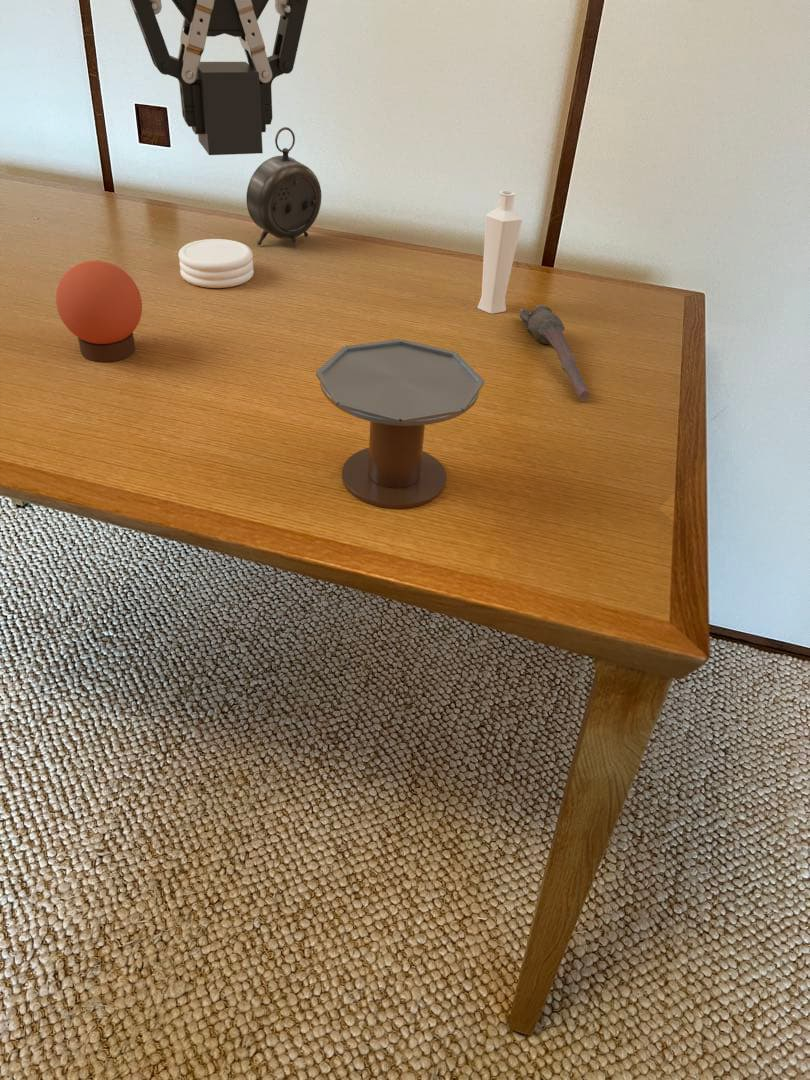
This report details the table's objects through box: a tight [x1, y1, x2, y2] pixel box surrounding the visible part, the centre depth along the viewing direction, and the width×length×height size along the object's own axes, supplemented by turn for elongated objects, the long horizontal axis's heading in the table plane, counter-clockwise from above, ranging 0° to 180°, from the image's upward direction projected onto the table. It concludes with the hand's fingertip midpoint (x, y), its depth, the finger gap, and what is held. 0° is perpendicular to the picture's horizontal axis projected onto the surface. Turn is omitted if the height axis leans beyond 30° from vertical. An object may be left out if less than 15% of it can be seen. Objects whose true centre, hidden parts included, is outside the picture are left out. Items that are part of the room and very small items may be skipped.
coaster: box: [178, 238, 255, 289], centre depth 112 cm, size 10×10×4 cm
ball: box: [55, 260, 143, 363], centre depth 91 cm, size 9×9×10 cm
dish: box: [315, 338, 485, 510], centre depth 74 cm, size 14×14×11 cm
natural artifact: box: [519, 304, 591, 403], centre depth 99 cm, size 4×23×4 cm, turn 5°
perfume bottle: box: [476, 189, 523, 315], centre depth 106 cm, size 5×4×15 cm
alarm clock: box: [245, 126, 322, 248], centre depth 119 cm, size 11×5×16 cm, turn 130°
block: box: [197, 61, 264, 156], centre depth 67 cm, size 4×4×6 cm
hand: (228, 130), depth 68 cm, fingers closed on block, 4 cm apart
